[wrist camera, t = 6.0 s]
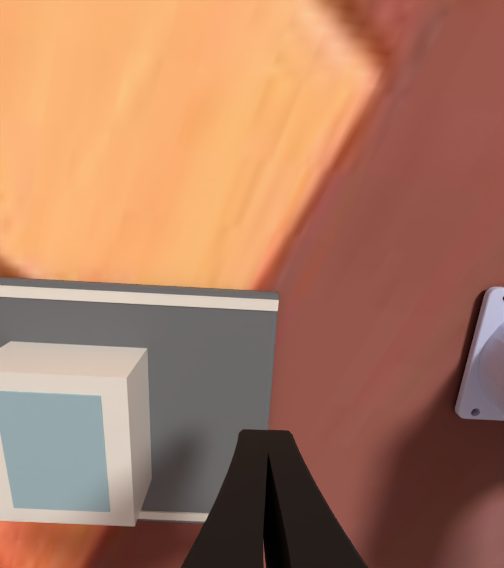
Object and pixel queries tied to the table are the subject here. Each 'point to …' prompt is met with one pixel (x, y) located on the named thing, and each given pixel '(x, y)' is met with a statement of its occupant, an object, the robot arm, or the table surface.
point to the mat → (167, 369)
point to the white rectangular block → (74, 433)
